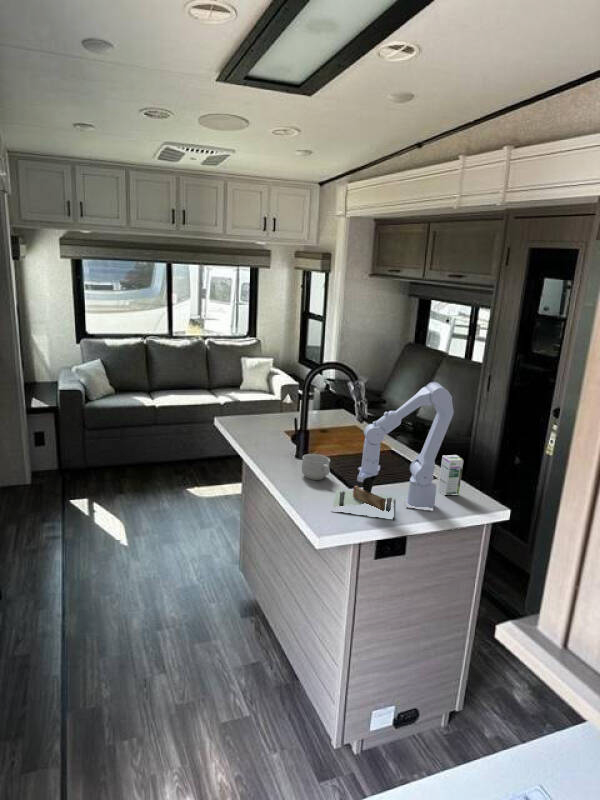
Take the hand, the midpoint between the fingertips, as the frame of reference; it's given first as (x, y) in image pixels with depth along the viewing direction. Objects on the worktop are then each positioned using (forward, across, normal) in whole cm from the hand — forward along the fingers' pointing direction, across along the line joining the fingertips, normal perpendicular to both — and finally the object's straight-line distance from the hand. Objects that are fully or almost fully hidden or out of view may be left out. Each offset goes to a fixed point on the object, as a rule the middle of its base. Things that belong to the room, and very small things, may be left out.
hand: (366, 494), depth 195 cm
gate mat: (+3, +2, 0) cm, 4 cm away
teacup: (+3, -7, -24) cm, 26 cm away
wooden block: (+2, +2, +2) cm, 3 cm away
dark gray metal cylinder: (+3, +6, +2) cm, 7 cm away
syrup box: (+3, -29, +21) cm, 36 cm away
